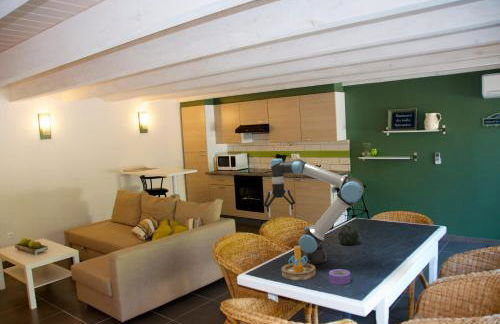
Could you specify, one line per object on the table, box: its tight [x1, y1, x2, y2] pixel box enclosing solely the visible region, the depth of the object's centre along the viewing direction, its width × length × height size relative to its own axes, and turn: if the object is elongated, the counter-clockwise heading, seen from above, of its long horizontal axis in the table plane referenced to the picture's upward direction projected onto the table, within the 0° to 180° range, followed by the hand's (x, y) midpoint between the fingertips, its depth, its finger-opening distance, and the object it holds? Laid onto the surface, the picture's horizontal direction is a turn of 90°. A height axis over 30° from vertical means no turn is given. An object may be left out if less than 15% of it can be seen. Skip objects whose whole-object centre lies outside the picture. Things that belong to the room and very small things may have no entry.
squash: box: [337, 224, 360, 246], centre depth 307 cm, size 14×15×15 cm
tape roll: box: [328, 268, 351, 286], centre depth 236 cm, size 12×12×5 cm
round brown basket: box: [281, 262, 317, 281], centre depth 251 cm, size 20×20×4 cm
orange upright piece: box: [288, 245, 308, 273], centre depth 251 cm, size 12×10×15 cm
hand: (280, 216), depth 266 cm, fingers open, 13 cm apart
